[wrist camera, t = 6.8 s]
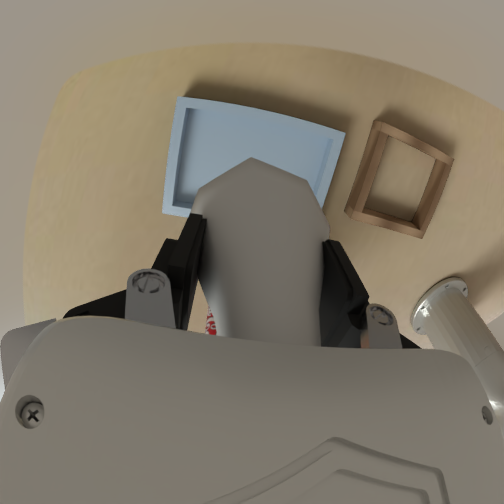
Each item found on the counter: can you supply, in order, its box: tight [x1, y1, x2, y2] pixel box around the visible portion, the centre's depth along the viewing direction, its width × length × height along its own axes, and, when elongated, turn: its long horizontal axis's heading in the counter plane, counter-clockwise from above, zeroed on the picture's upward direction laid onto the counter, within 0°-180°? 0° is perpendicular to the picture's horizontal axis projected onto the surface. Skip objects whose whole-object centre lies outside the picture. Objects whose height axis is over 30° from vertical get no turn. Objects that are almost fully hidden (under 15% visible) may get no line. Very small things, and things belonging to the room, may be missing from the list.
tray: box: [162, 97, 346, 217], centre depth 26 cm, size 16×12×2 cm
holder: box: [344, 120, 454, 239], centre depth 26 cm, size 11×11×2 cm
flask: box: [190, 157, 330, 347], centre depth 10 cm, size 7×7×10 cm
